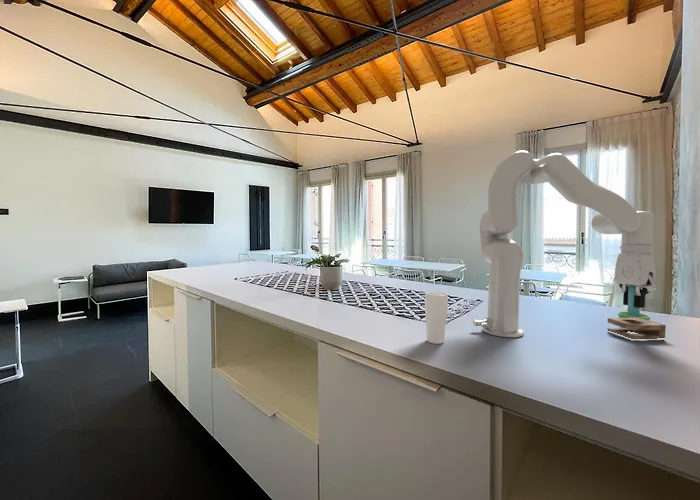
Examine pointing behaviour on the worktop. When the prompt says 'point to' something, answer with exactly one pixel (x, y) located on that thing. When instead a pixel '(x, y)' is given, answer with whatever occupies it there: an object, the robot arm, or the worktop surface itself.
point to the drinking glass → (436, 316)
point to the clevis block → (638, 328)
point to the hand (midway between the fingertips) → (633, 305)
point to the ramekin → (624, 315)
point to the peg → (632, 302)
